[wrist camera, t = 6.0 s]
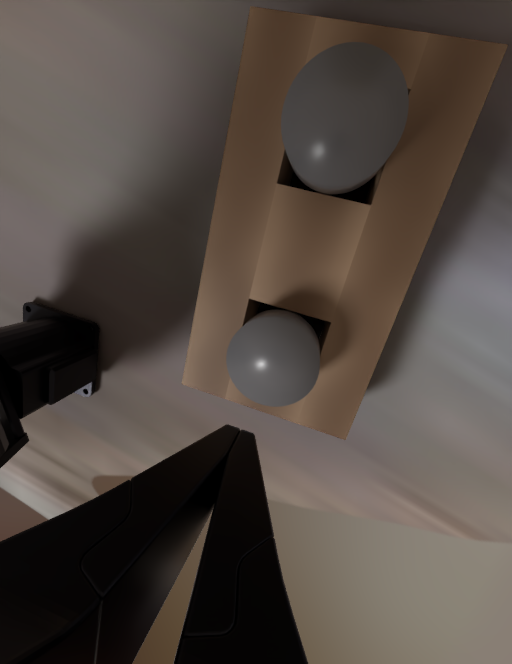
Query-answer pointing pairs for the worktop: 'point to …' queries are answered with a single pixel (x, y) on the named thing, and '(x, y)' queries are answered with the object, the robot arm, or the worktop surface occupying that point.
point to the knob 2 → (344, 116)
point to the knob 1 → (274, 358)
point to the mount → (328, 209)
